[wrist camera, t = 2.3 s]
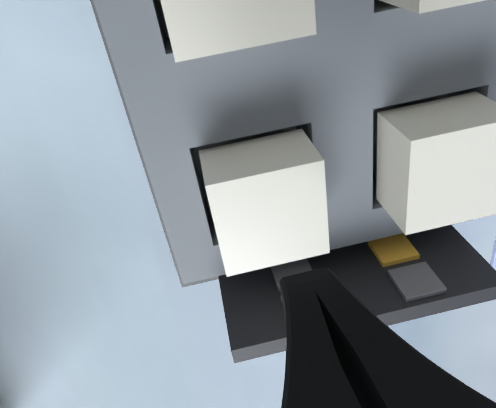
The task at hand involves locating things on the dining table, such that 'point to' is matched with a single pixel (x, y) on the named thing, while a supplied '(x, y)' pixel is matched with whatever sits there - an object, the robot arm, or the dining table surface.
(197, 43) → the button
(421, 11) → the button
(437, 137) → the button
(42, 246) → the dining table surface
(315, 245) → the button
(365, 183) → the button board
